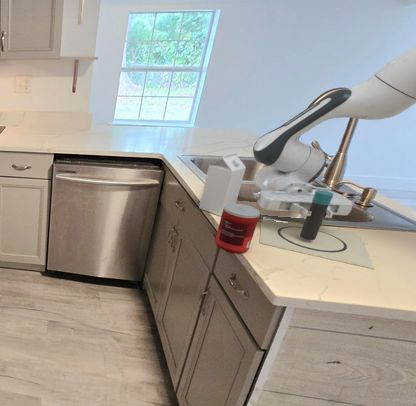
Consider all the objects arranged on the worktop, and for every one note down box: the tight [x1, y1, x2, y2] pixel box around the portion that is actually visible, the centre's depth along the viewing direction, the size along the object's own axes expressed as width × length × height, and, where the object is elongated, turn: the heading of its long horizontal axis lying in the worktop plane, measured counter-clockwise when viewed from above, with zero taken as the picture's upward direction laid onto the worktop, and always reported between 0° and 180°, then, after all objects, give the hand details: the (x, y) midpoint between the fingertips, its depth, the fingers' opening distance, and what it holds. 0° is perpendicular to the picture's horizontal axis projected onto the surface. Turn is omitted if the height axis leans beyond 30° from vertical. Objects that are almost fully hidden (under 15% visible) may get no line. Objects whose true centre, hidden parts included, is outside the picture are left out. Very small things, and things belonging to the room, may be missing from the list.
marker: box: [300, 190, 333, 240], centre depth 95 cm, size 3×3×13 cm
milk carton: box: [198, 151, 247, 217], centre depth 114 cm, size 7×7×19 cm
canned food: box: [214, 202, 261, 254], centre depth 95 cm, size 8×8×11 cm
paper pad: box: [259, 217, 376, 270], centre depth 99 cm, size 22×20×1 cm
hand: (318, 214), depth 94 cm, fingers closed on marker, 3 cm apart
